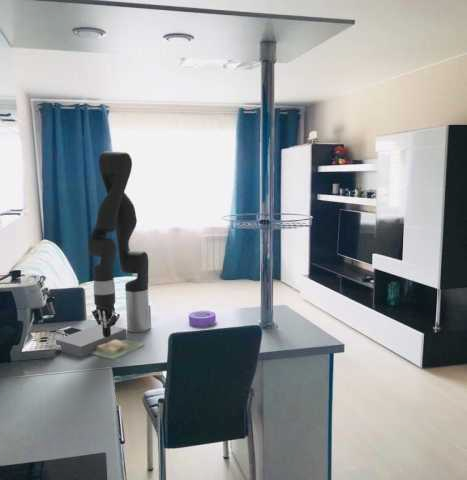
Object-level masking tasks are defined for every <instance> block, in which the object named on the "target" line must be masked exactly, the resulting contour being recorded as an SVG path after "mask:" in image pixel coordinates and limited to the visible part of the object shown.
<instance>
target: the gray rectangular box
mask: <svg viewBox="0 0 467 480" xmlns="http://www.w3.org/2000/svg"><path fill="white" fill-rule="evenodd" d="M81 330H82V331H79V332H76V333H73V334H71V335H68V336H66V335H64V336H63V337H60V338H57V339H55V345H56V344H57V345H60V346H61V351H60V352H63V353H66V354H69V355H72V356H75V357H80V358H84V357H86V356H89V355H92V352H94V351H96V346H97V345H100V344H102V343H105V342H107V341H110V340H112V339H117V340H123V339H126V340H127V329H126V328H123V327H120V326H119V327H118V326H115V325H114V326H111V335H110V336H109V337H104V336H103V330H102V327H101V325H98V324H95V325H93V326H91V327H87V328H85V329H81Z"/></svg>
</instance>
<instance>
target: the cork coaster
mask: <svg viewBox="0 0 467 480" xmlns="http://www.w3.org/2000/svg"><path fill="white" fill-rule="evenodd" d="M130 347H131V343H129V342H125V341H121V340H117V339H112V340H110V341H107V342H105V343H102V344H100V345H97V346H96V350H98V351H101V352H105V353H108V354H112V355H114V354H116V353H118V352H121V351H123V350H125V349H128V348H130Z"/></svg>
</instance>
